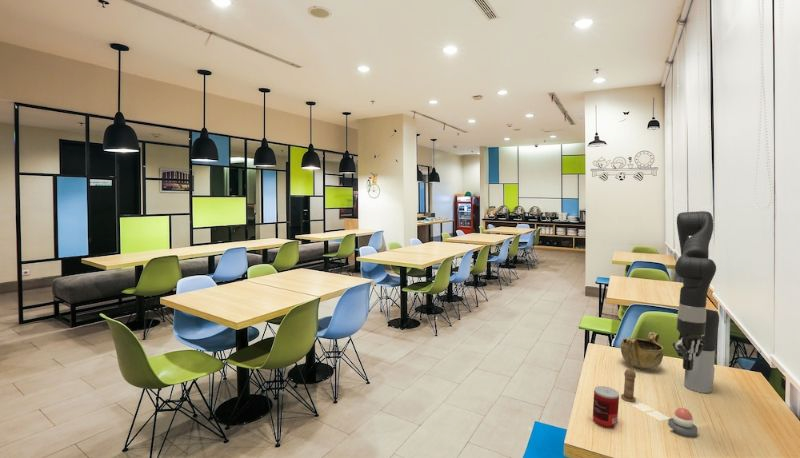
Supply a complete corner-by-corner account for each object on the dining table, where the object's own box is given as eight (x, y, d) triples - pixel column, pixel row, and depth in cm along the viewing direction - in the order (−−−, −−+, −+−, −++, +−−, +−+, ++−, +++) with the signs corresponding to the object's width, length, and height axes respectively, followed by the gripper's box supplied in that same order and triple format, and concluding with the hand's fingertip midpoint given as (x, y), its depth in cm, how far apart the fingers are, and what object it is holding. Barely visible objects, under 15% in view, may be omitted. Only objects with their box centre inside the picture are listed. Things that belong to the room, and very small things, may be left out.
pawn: (627, 395, 156) (629, 366, 155) (639, 401, 151) (641, 371, 150) (617, 397, 154) (619, 368, 153) (629, 403, 150) (631, 373, 149)
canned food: (615, 418, 141) (617, 387, 140) (619, 430, 134) (621, 398, 133) (591, 413, 144) (592, 384, 143) (593, 425, 136) (595, 394, 135)
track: (628, 396, 157) (628, 393, 157) (674, 421, 140) (674, 418, 140) (613, 399, 154) (613, 396, 154) (657, 425, 137) (658, 422, 137)
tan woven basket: (646, 379, 173) (649, 345, 172) (608, 364, 187) (610, 333, 186) (672, 368, 184) (674, 336, 183) (634, 355, 199) (636, 326, 198)
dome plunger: (680, 417, 137) (681, 403, 137) (696, 426, 133) (697, 411, 132) (669, 420, 136) (670, 406, 135) (685, 428, 131) (686, 414, 130)
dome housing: (678, 422, 139) (679, 416, 139) (702, 435, 132) (703, 429, 132) (662, 425, 137) (662, 420, 137) (685, 439, 129) (686, 433, 129)
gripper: (693, 313, 137) (690, 362, 138) (665, 316, 132) (662, 367, 134) (717, 319, 130) (713, 371, 131) (688, 323, 125) (684, 377, 127)
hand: (687, 369), depth 133 cm, fingers closed
